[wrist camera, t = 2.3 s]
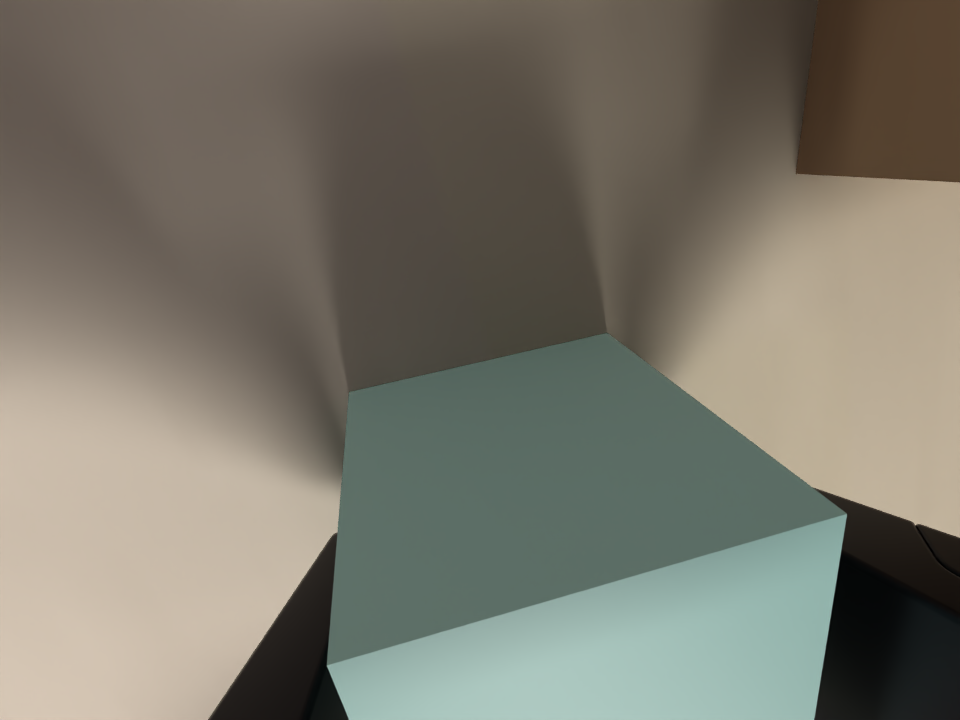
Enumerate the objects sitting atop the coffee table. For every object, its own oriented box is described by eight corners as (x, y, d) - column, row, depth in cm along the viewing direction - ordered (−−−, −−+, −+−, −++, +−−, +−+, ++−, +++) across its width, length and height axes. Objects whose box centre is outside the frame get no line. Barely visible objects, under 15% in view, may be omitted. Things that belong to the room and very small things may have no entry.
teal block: (605, 331, 9) (847, 514, 4) (618, 530, 11) (799, 804, 6) (348, 390, 8) (326, 665, 4) (407, 589, 10) (438, 936, 6)
